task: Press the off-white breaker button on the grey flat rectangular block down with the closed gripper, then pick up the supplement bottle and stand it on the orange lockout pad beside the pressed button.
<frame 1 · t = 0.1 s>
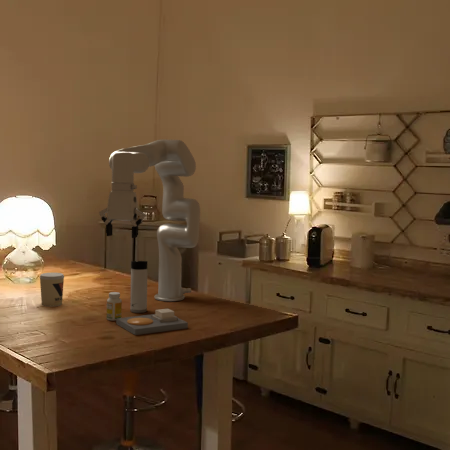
hand: (121, 236, 228), 31 cm above the table, tool pointing down, fingers open, 9 cm apart
grey flat rectangular block: (151, 326, 229), on the table
coffee cup: (51, 304, 257), on the table
supplement bottle: (114, 319, 237), on the table
breaker button: (164, 314, 231), point 4 cm above the table, slide at 0.0 cm
travel mug: (138, 311, 250), on the table
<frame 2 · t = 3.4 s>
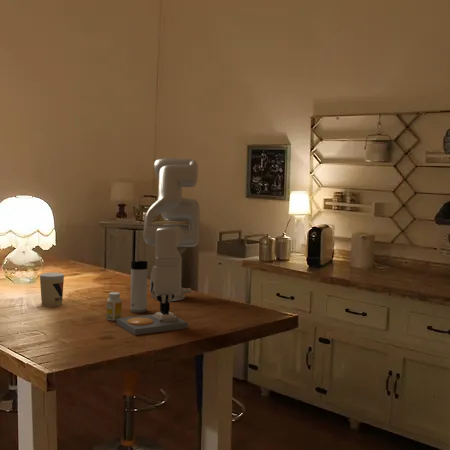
hand: (164, 313, 231), 4 cm above the table, tool pointing down, fingers closed
breaker button: (164, 317, 231), point 3 cm above the table, slide at 1.0 cm, touching gripper
everything else where it was.
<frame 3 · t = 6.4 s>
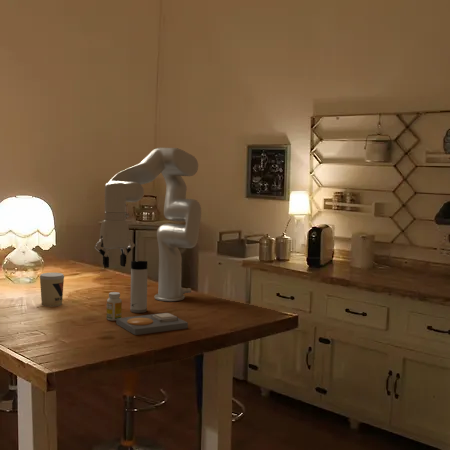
hand: (114, 266, 235), 20 cm above the table, tool pointing down, fingers open, 5 cm apart
breaker button: (164, 319, 231), point 2 cm above the table, slide at 1.6 cm
everything else where it was.
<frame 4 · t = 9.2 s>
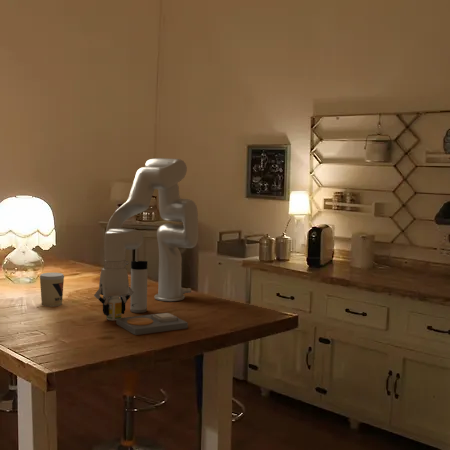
hand: (114, 313, 237), 2 cm above the table, tool pointing down, fingers closed on supplement bottle, 5 cm apart
supplement bottle: (114, 319, 237), on the table, touching gripper
everything else where it was.
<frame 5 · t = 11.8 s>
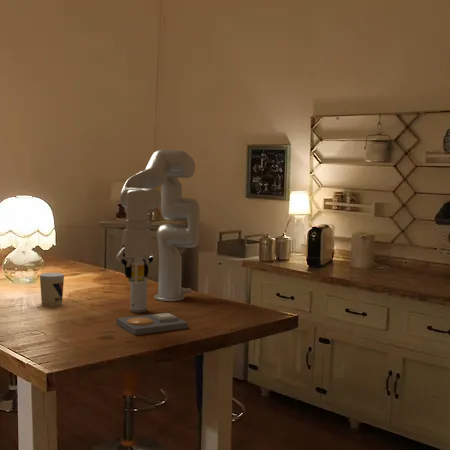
hand: (136, 276, 226), 18 cm above the table, tool pointing down, fingers closed on supplement bottle, 5 cm apart
supplement bottle: (136, 282, 226), point 15 cm above the table, touching gripper
everything else where it was.
when the fingers open (5 cm above the table, at t = 14.7 s): supplement bottle stays where it is, resting on grey flat rectangular block.
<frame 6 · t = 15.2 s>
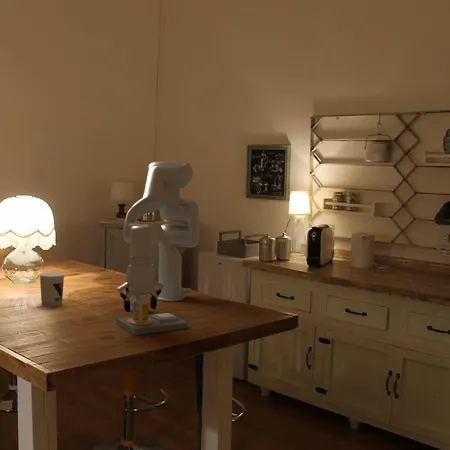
hand: (140, 310, 226), 6 cm above the table, tool pointing down, fingers open, 9 cm apart
supplement bottle: (140, 321, 226), point 2 cm above the table, touching grey flat rectangular block
everything else where it was.
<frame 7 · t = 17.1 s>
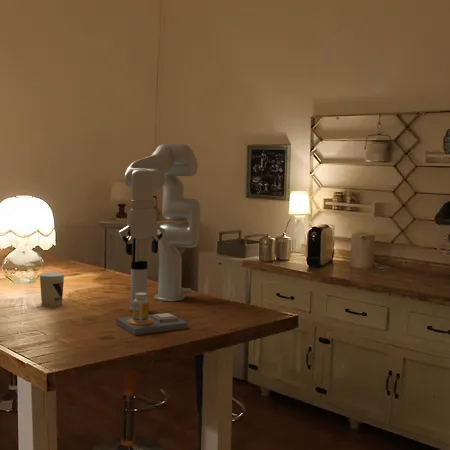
hand: (142, 253, 229), 25 cm above the table, tool pointing down, fingers open, 9 cm apart
nothing on the table moved.
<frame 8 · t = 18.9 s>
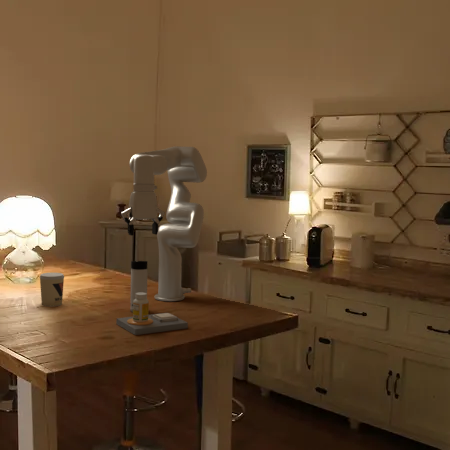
hand: (143, 234, 242), 30 cm above the table, tool pointing down, fingers open, 9 cm apart
nothing on the table moved.
at the end: breaker button slide at 1.6 cm; supplement bottle 0.3 cm from the target spot on the grey flat rectangular block, point 2.2 cm above the grey flat rectangular block's base; supplement bottle tilted 0° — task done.
